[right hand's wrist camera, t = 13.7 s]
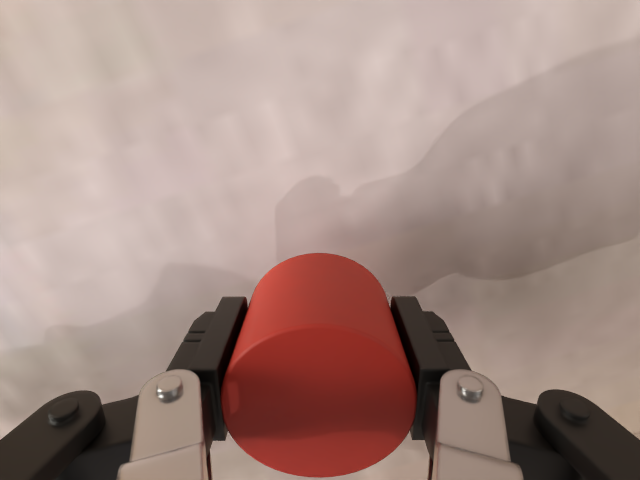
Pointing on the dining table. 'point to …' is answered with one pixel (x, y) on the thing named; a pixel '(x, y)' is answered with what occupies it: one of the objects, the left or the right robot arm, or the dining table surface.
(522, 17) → the dining table surface
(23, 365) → the dining table surface
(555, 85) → the dining table surface
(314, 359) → the can
